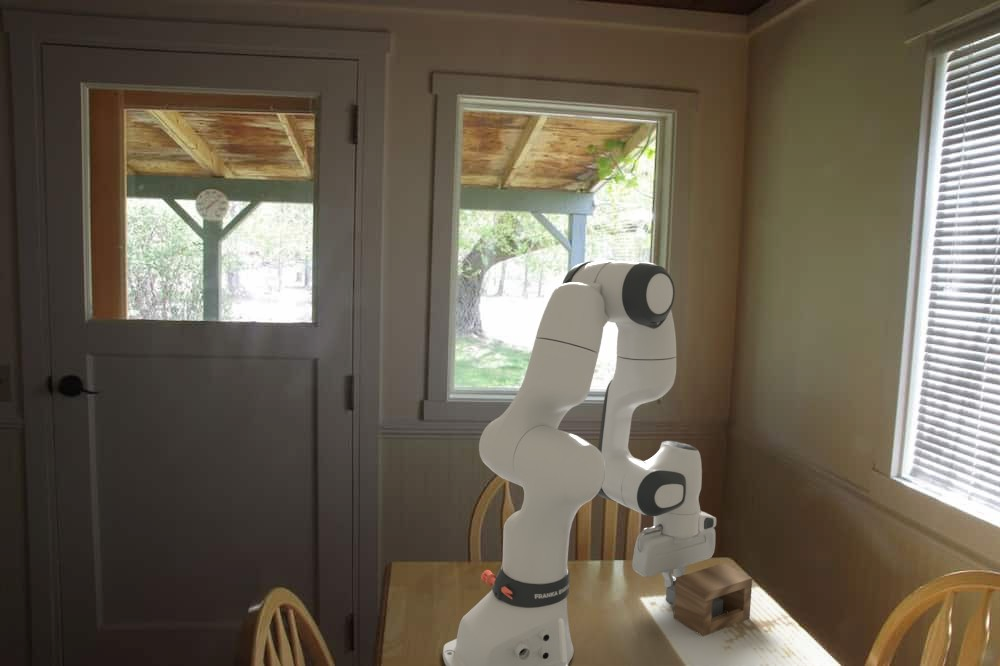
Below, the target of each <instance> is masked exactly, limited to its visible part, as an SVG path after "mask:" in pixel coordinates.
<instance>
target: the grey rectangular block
mask: <svg viewBox="0 0 1000 666" xmlns="http://www.w3.org/2000/svg"><path fill="white" fill-rule="evenodd" d="M675 586H676V584H675V585H672V586H669V587H667V588H666V593H665V600H666V601H667V602H668V603H670V604H672V605H673V604H675ZM723 612H724V610H723V600H722V599H720V598H719V597H717V598H714V599H712V613H711V618H714V617H717V616H719V615H722V614H724V613H723Z"/></svg>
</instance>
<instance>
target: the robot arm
mask: <svg viewBox="0 0 1000 666" xmlns="http://www.w3.org/2000/svg"><path fill="white" fill-rule="evenodd" d="M675 294H676V292H675V285H674V282H673V279H672V277H671V275H670V273H669V272H668V270H667V269H666V268H665V267H663V266H662V265H659V264H656V263H652V262H647V261H641V262H634V261H624V260H617V259H614V260H613V259H611V260H600V261H591V260H590V261H586V262H582V263H578V264H577V265H575V266H573V267H572V268H570V269H569V270H568V272H567V273H566V275H565V277H564V279H563V281H562V284H560V285H558V286H557V287H556V288H555V289H554V290H553V292H552V294H551V295H550V298H549V300H548V302H547V304H546V306H545V309H544V311H543V314H542V316H541V320H540V323H539V325H538V329H537V331H536V336H535V339H534V343H533V347H532V350H531V354H530V358H529V361H528V365H527V368H526V371H525V373H524V374H525V375H524V378H523V381H522V383H521V385H520V388H519V390H518V391H517V393H516V395H515V397H514V398H513V400H512V401H511V403H510V404H509V406H508V407H507V408H506V409H505V411H504V412H503V413H502V414H501V415H500V416H499V417H497V418H495V419H494V420H491V422H490V423H488V424H487V425H486V426H485V428H484V430H483V431H482V433H481V435H480V439H479V443H478V453H479V457H480V459H481V462H483V463H484V465H485V466H486V467H487V468H489V470H491V471H492V472H493V473H494V474H496V475H497V476H498V477H499V478H501V479H503V480H506V481H507V482H510V483H513V484H515V485H517V486H520V487H522V488H523V492H524V493H523V494H524V496H523V502H522V505H521V509H519V510H518V511H515V512H513V513H512V514H511V515H510V516H509V517H508V518H507V519H506V520H505V523H504V526H503V533H502V534H503V535H502V537H503V538H502V539H503V540H502V563H501V565H500V567H499V570H498V572H497V573H496V574H497V575H496V574H494V573H493V572H492V571H491V570H489V569H486V570H484V571H483V572H482V573H481V577H480V578H481V581H483V582H484V583H485V584H486V585H487V586H492V589H491V590H490V591H489V592H488V593H487V594H486V595H485V596H484V597H482V599H481V600H480V601H479V602H478V603H477V604H476V605H474V606H473V607H472V608H471V609H470V610H469V611H468V612H467V613H466V614H465V615H463V616H462V618H461V620H460V622H459V625H458V629H457V635H456V638H455V639H453V640H450V641H448V642H446V643H445V644H444V645H443V647H442V649H443V650H442V659H443V663H444V664H445V666H569V664H570V661H571V660H572V658H573V657H574V653H575V652H574V645H573V643H572V638H571V632H570V626H569V616H568V599H567V597H568V595H569V593H570V570H569V567H568V558H569V544H570V534H571V529H572V524H573V521H574V519H575V516H576V514H577V513H578V511H579V510H580V508H582V506H583V505H585V504H587V503H589V502H590V501H591V500H593V499H594V498H596V496H597V495H598V496H599V497H601V498H603V499H606V500H609V501H611V502H615V503H618V504H620V505H622V506H624V507H626V508H628V509H630V510H634V511H635V512H638V513H639V514H642V515H645V516H648V517H653V526H651V527H645V528H642V531H641V532H640V533H639V534H638V535H637V537H636V541H635V545H634V550H633V556H632V561H631V563H632V565H631V566H632V570H633V571H634V572H635V573H637V574H638V575H640V576H642V577H644V578H649V577H652V576H656V575H658V574H662V577H663V579H664V587H665V588H666V589H667V587H669V586H672V585H675V584H676V577H679V576H683V575H685V573H686V570H687V566H689V565H692V564H695V563H699V562H702V561H705V560H708V559H711V558H712V556H713V555H714V553H715V549H716V529H715V527H716V526H717V517H715V516H713V515H711V514H709V513H708V512H705V511H702V510H701V506H700V502H699V501H700V500H699V496H700V493H701V490H702V482H703V480H702V478H703V476H702V475H703V468H702V458H701V453H700V452H699V450H698V449H697V448H696V446H693V445H691V444H687V443H684V442H679V441H676V440H675V441H674V440H665V441H662V442H661V444H660V447H659V450H658V451H657V452H656V453H655V454H654V455H652V457H650V458H648V459H646V460H641V459H639V458H637V457H634V456H633V455H632V454H631V452H630V449H629V442H630V434H631V426H632V417H633V414H634V411H635V410H636V408H638V407H639V406H640V405H642V404H647V403H650V402H655V401H657V400H659V399H661V398H662V397H664V396H665V395H666V394H667V393H669V391H670V390H671V389H672V387H673V386H674V383H675V380H676V375H677V340H676V328H675V322H674V316H673V312H672V309H673V305H674V302H675V301H674V300H675ZM608 322H609V323H615V325H616V327H617V338H616V339H617V340H616V362H615V363H616V365H615V371H614V374H613V378H612V379H611V380H610V381H609V383H608V385H607V387H606V390H605V394H604V399H603V406H602V413H601V422H600V423H601V424H600V428H599V429H600V432H599V440H598V446H597V447H596V446H595V445H593V444H592V443H591V442H589V441H587V440H586V439H584V438H582V437H581V436H579V435H577V434H574V433H570V432H567V431H564V430H561V429H558V428H559V426H560V424H561V422H562V420H563V419H564V417H565V415H566V414H567V413H568V412H569V411H570V410H571V409H572V408H574V407H577V406H579V405H581V404H582V403H584V401H585V400H586V399H588V396H589V394H590V392H591V391H590V389H591V385H592V383H593V377H594V375H595V370H596V366H597V362H598V358H599V353H600V349H601V345H602V339H603V335H604V334H603V333H604V328H605V326H606V324H607V323H608Z"/></svg>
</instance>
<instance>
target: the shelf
mask: <svg viewBox="0 0 1000 666" xmlns="http://www.w3.org/2000/svg"><path fill="white" fill-rule="evenodd" d="M752 586H753V577H751V576H750V575H747V574H745V573H744V572H741V571H739V570H737V569H735V568H733V567H730V566H729V565H726V564H725V563H719V564H716V565H713V566H710V567H706V568H703V569H700V570H696V571H693V572H690V573H686V574H684V575H683V576H679V577H676V586H675V604H674V608H673V618H674V620H676V621H678V622H679V623H681V624H683V626H686V627H687V628H689V629H690V630H692V631H693V632H695V633H696V634H698V635H700V636H702V637H704V636H706V635H710V634H712V633H715V632H718V631H721V630H723V629H725V628H727V627H729V626H734V625H735V624H738V623H741V622H744V621H746V620H748V619H751V604H752V602H751V601H752ZM717 597H719V598H720V599H722V600H723V612H724V611H725V613H722V614H719V615H716V616H714V617H711V613H712V599H714V598H717Z"/></svg>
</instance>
